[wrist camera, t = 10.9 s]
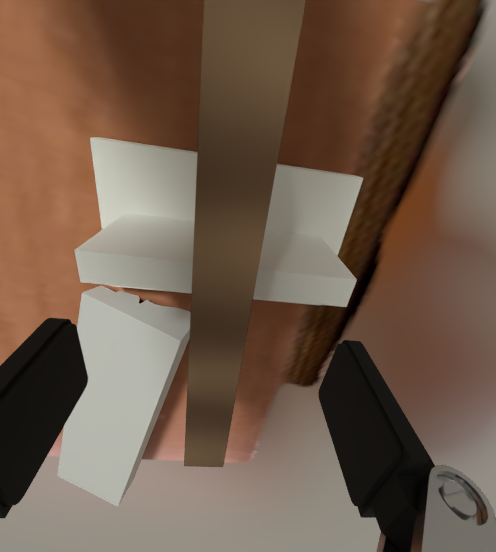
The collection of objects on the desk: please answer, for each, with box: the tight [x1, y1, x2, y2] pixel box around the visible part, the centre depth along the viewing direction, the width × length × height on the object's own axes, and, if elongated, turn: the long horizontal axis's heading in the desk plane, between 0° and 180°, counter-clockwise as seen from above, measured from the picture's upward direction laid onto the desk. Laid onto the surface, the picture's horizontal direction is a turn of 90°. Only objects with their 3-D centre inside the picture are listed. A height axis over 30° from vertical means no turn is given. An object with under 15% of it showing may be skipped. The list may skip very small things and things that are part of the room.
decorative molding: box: [58, 285, 191, 506], centre depth 33 cm, size 34×5×10 cm
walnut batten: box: [184, 0, 306, 467], centre depth 14 cm, size 24×3×4 cm, turn 172°
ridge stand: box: [75, 137, 363, 307], centre depth 19 cm, size 12×20×9 cm, turn 82°
